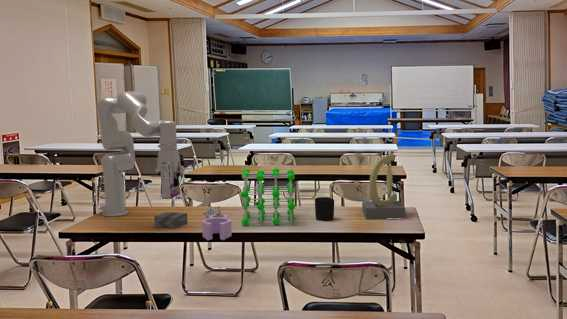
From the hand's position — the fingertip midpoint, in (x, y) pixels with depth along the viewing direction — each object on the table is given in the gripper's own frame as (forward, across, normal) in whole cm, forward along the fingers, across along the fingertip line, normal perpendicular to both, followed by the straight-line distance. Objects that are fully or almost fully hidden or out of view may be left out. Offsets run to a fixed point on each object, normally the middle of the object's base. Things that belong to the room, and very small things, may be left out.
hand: (170, 185), depth 285 cm
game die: (+19, +16, +10) cm, 27 cm away
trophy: (+20, +90, +50) cm, 105 cm away
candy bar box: (+5, 0, 0) cm, 5 cm away
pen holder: (+20, +64, +33) cm, 75 cm away
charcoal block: (+19, 0, 0) cm, 19 cm away
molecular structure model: (+19, +40, +23) cm, 50 cm away
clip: (+19, +28, -10) cm, 36 cm away
